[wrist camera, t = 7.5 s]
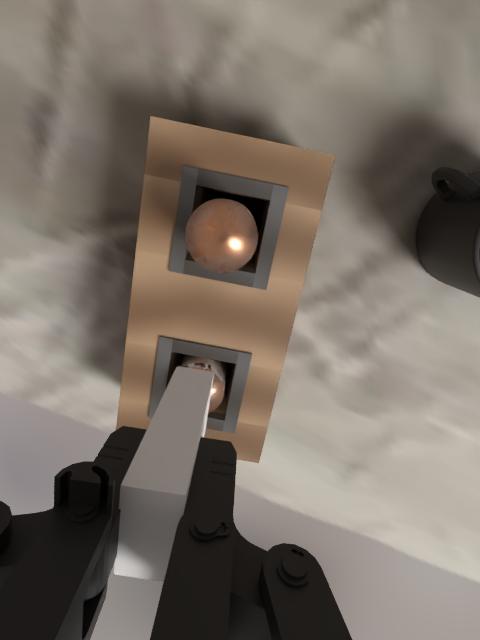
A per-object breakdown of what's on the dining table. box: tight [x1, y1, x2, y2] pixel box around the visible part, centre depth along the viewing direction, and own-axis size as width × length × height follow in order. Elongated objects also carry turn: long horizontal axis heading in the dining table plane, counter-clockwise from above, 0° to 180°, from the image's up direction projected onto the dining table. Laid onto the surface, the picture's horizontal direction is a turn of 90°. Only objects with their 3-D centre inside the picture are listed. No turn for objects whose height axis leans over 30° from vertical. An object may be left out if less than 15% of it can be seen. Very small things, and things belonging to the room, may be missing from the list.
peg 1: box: [185, 199, 258, 273], centre depth 24 cm, size 4×4×7 cm
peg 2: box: [180, 354, 228, 413], centre depth 32 cm, size 4×4×7 cm
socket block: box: [116, 116, 335, 463], centre depth 31 cm, size 24×12×7 cm, turn 169°
